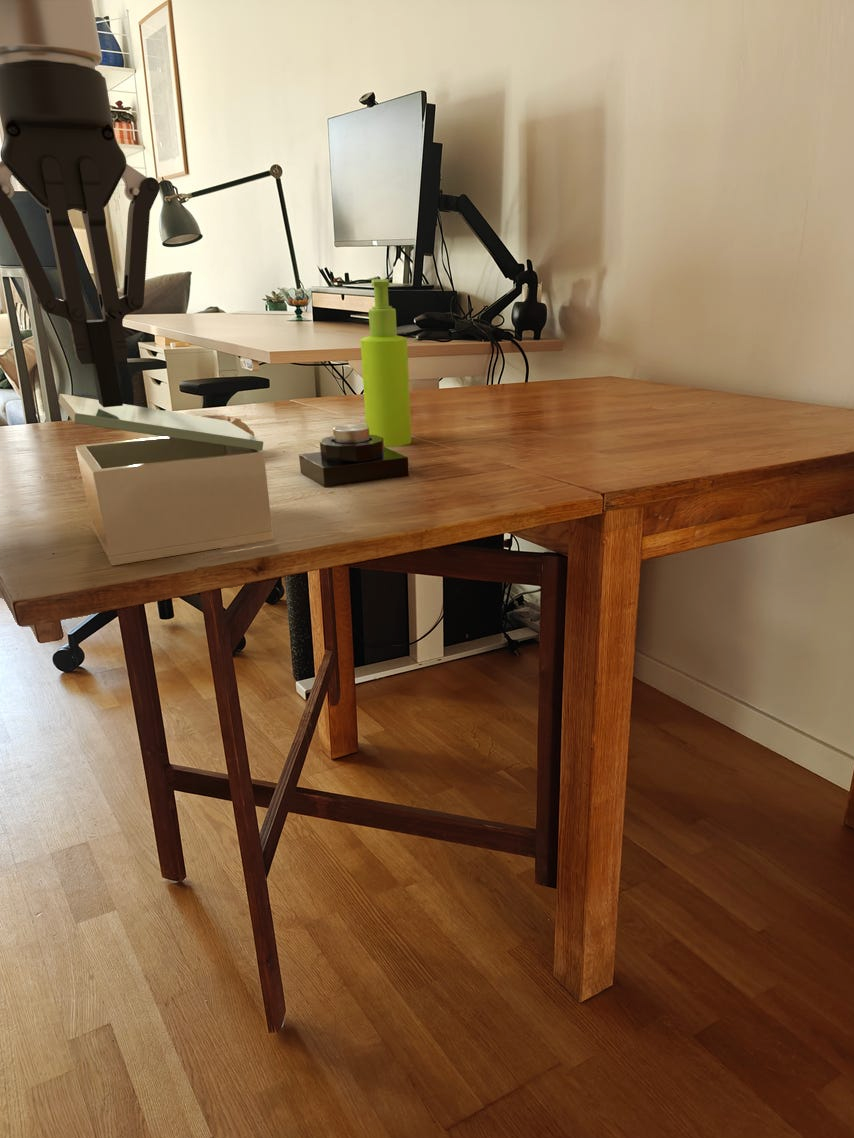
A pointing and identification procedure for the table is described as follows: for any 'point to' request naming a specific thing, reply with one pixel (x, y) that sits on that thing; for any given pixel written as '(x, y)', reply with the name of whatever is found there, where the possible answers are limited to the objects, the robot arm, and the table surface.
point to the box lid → (157, 423)
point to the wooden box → (173, 497)
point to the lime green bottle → (386, 373)
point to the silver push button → (351, 434)
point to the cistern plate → (352, 463)
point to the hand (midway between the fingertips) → (110, 404)
